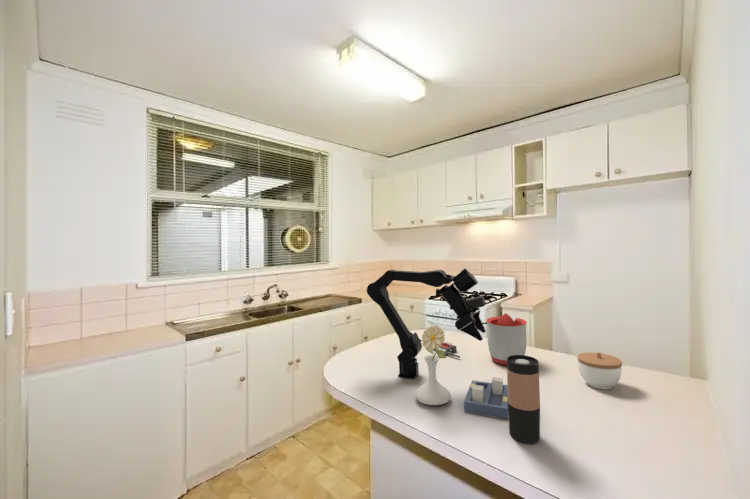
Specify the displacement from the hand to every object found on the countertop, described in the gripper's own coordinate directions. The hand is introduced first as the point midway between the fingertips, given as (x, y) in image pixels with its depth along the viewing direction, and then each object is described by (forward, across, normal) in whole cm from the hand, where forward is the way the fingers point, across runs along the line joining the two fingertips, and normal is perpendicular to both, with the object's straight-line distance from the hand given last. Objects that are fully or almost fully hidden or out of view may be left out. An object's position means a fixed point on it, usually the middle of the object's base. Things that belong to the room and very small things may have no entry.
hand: (483, 336), depth 117 cm
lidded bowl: (+36, +12, -18) cm, 42 cm away
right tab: (+15, -9, +5) cm, 19 cm away
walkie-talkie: (+3, +29, +27) cm, 39 cm away
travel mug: (+21, -29, 0) cm, 36 cm away
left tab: (+12, -17, +9) cm, 23 cm away
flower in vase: (+6, -18, +21) cm, 28 cm away
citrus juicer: (+18, +26, +6) cm, 33 cm away
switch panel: (+15, -14, +8) cm, 22 cm away
